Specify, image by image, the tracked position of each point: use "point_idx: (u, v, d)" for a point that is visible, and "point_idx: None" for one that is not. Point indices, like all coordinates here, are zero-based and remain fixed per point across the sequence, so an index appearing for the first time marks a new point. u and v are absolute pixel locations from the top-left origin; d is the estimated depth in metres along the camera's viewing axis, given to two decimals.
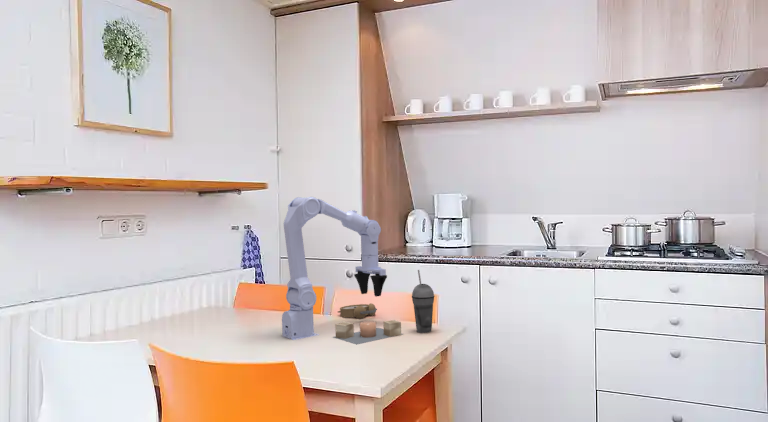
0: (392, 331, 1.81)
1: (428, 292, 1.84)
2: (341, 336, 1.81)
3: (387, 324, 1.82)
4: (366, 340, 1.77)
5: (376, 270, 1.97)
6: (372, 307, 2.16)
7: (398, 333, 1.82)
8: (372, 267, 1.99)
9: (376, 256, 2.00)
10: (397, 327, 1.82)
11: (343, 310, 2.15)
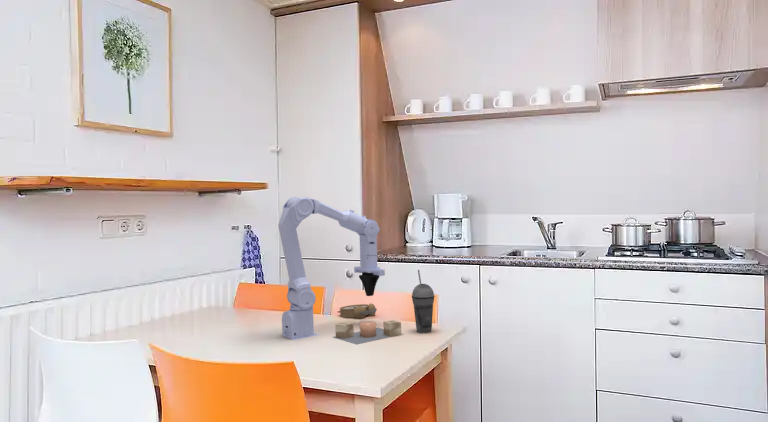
0: (392, 331, 1.81)
1: (428, 292, 1.84)
2: (341, 336, 1.81)
3: (387, 324, 1.82)
4: (366, 340, 1.77)
5: (375, 270, 1.93)
6: (372, 307, 2.16)
7: (398, 333, 1.82)
8: (371, 267, 1.96)
9: (375, 256, 1.97)
10: (397, 327, 1.82)
11: (343, 310, 2.15)
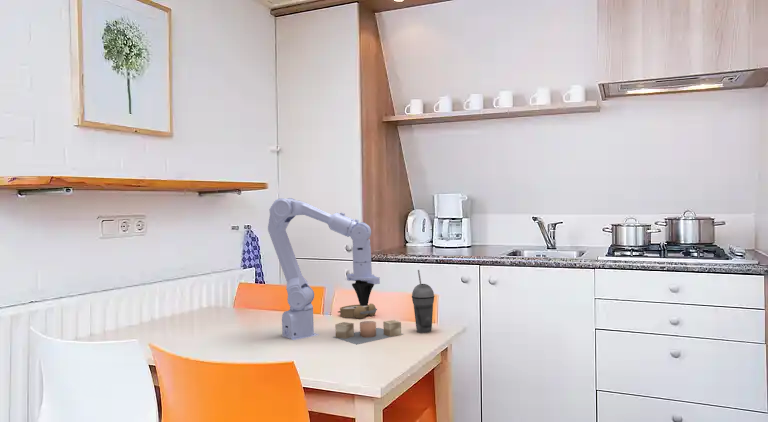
0: (392, 331, 1.81)
1: (428, 292, 1.84)
2: (341, 336, 1.81)
3: (387, 324, 1.82)
4: (366, 340, 1.77)
5: (369, 278, 1.79)
6: (372, 307, 2.16)
7: (398, 333, 1.82)
8: (365, 275, 1.81)
9: (369, 263, 1.82)
10: (397, 327, 1.82)
11: (343, 310, 2.15)
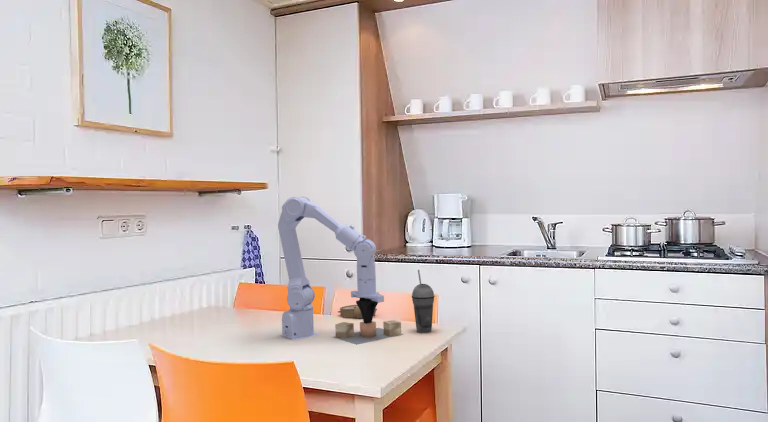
0: (392, 331, 1.81)
1: (428, 292, 1.84)
2: (341, 336, 1.81)
3: (387, 324, 1.82)
4: (366, 340, 1.77)
5: (373, 296, 1.78)
6: None
7: (398, 333, 1.82)
8: (369, 293, 1.80)
9: (373, 280, 1.81)
10: (397, 327, 1.82)
11: (343, 310, 2.15)
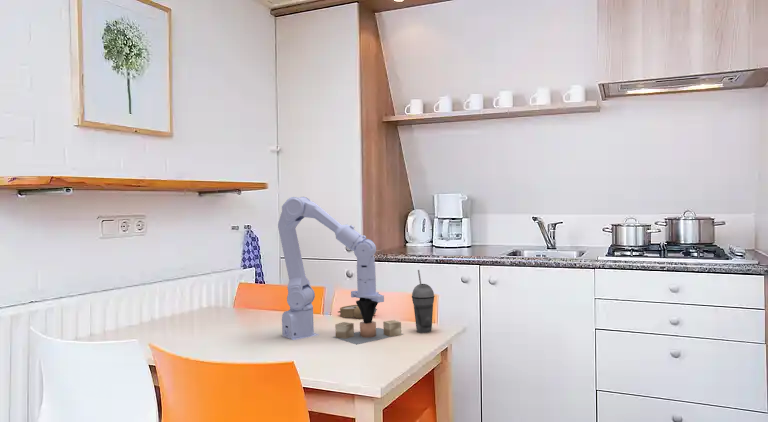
0: (392, 331, 1.81)
1: (428, 292, 1.84)
2: (341, 336, 1.81)
3: (387, 324, 1.82)
4: (366, 340, 1.77)
5: (373, 296, 1.78)
6: None
7: (398, 333, 1.82)
8: (369, 293, 1.80)
9: (373, 280, 1.81)
10: (397, 327, 1.82)
11: (343, 310, 2.15)
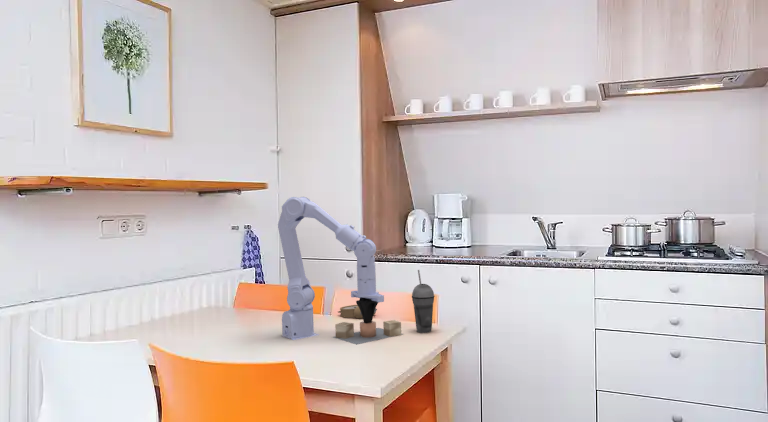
0: (392, 331, 1.81)
1: (428, 292, 1.84)
2: (341, 336, 1.81)
3: (387, 324, 1.82)
4: (366, 340, 1.77)
5: (373, 296, 1.78)
6: None
7: (398, 333, 1.82)
8: (369, 293, 1.80)
9: (373, 280, 1.81)
10: (397, 327, 1.82)
11: (343, 310, 2.15)
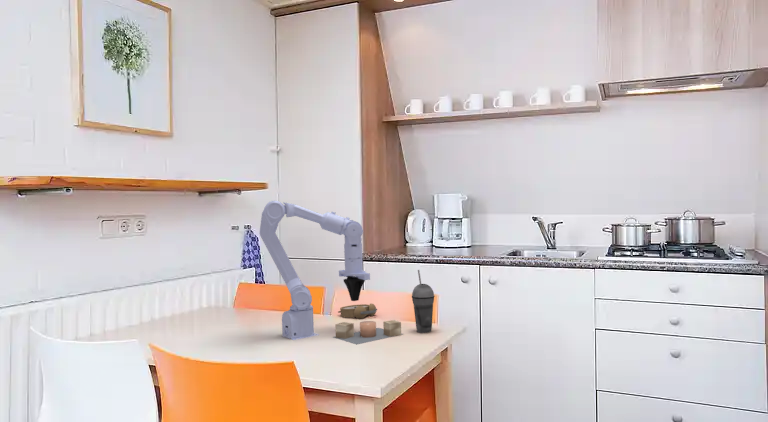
0: (392, 331, 1.81)
1: (428, 292, 1.84)
2: (341, 336, 1.81)
3: (387, 324, 1.82)
4: (366, 340, 1.77)
5: (360, 274, 1.85)
6: (372, 307, 2.16)
7: (398, 333, 1.82)
8: (356, 271, 1.87)
9: (360, 259, 1.88)
10: (397, 327, 1.82)
11: (343, 310, 2.15)
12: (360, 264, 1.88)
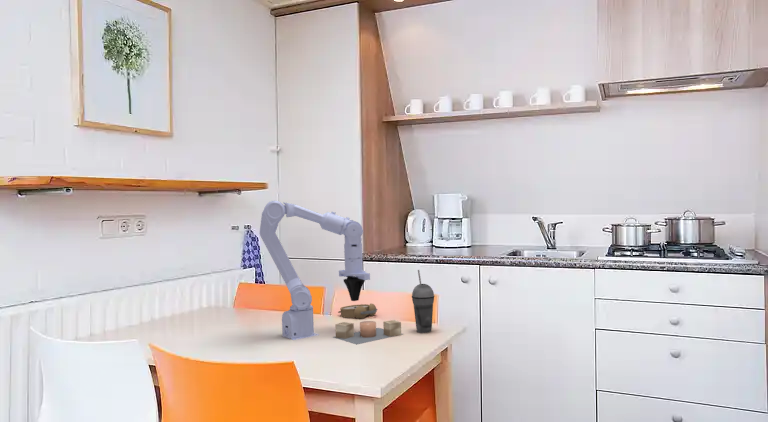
0: (392, 331, 1.81)
1: (428, 292, 1.84)
2: (341, 336, 1.81)
3: (387, 324, 1.82)
4: (366, 340, 1.77)
5: (360, 274, 1.85)
6: (372, 307, 2.16)
7: (398, 333, 1.82)
8: (356, 271, 1.87)
9: (360, 259, 1.88)
10: (397, 327, 1.82)
11: (343, 310, 2.15)
12: (360, 264, 1.88)
